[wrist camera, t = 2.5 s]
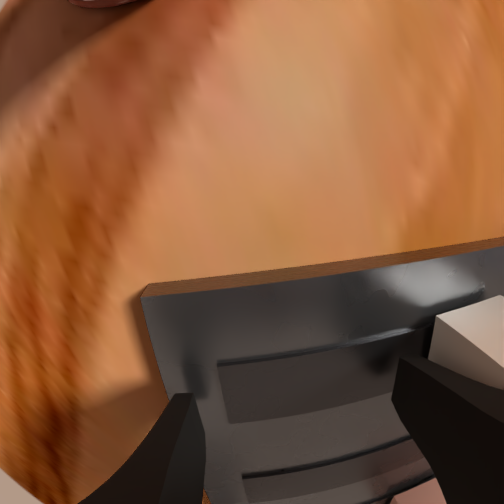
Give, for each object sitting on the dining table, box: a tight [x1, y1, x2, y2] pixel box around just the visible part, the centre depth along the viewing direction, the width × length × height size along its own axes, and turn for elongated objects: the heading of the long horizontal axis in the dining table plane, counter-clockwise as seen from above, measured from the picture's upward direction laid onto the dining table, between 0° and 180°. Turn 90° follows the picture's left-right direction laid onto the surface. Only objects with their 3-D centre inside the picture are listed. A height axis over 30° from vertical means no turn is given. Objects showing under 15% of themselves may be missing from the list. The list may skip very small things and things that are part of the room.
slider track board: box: [140, 237, 504, 504], centre depth 13 cm, size 20×22×1 cm
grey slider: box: [428, 295, 504, 390], centre depth 8 cm, size 4×4×4 cm
